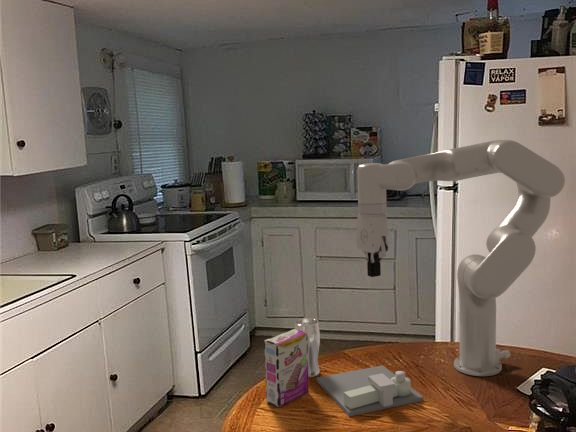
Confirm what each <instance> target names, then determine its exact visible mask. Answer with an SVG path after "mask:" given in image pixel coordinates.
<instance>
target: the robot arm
mask: <svg viewBox="0 0 576 432" xmlns="http://www.w3.org/2000/svg"><path fill="white" fill-rule="evenodd" d="M356 173H357V174H356V175H357V202H358V203H357V204H358V206H357V207H358V208H357V210H358V214H357V219H356V231H355V232H356V234H355V236H356V239H355V241H356V243H355V244H356V248H357V249H358V250H360V251H361V252H362V253H363V254H364V255H365V260H366V263H367V264H366V265H367V267H366V268H367V276H368V277H370V278H375V277H380V276H381V272H382V271H381V269H382V268H381V262H382V259H383V258H387V252H388V251H389V249H390V233H389V223H388V217H387V215H388V212H387V209H388V208H387V190H389V191H390V190H391V191H407V190H409V189H411V188H412V187H413V186H414V185H415V184H420V183H425V182H426V183H427V182H438V181H442V182H457V181H462V180H468V179H472V178H476V177H477V178H478V177H482V176H483V177H484V176H487V175H493V174H498V173H499V174H503V175H505V176H506V177H508V178H509V179H511V180H512V181H514V182H515V183H516V185H517V191H518V192H517V200H516V203H515V204H514V206H513V207H512V208H511V210H510V211H509V212H508V213H507V215H506V216H505V217H504V218H503V219H502V220H501V221H500V222H499V223H498V225H497V226H496V227H495V228H494V229H493V230H492V231H491V232H490V233H489V235H488V237H487V238H486V243H485V244H486V249H487V251H488V252H489V253H488V254H487V255H486V256H485V255H481V254H470V255H467V256H465V257H464V258H463V259H462V260H461V261H460V263H459V265H458V268H457V274H456V275H457V277H456V278H457V287H458V297H459V299H458V300H459V319H458V320H459V323H458V324H459V330H458V331H459V356H458V357H456V358H455V359H454V360H453V367H454V368H455V369H456V371H458V372H460V373H463V374H464V375H469V376H475V377H489V376H490V377H491V376H495V375H497V374H500V373H501V371H502V369H503V367H502V363H501V362H500V361H501V360H502V359H507V358H510V357H511V352H510V350H508V349H507V350H500V349H499V348H497V300H496V299H497V298H498V297H500V296H502V295H503V294H504V293H505V292H506V291H507V290H508V289H509V288H510V287H511V286H512V285H513V283H515V282H516V280H517V279H519V277H520V276H521V275H522V274H523V273H524V271H526V270H527V268H528V267H529V266H530V264H531V263H532V262H533V260H534V258H535V255H536V252H537V249H536V248H537V247H536V241H534V239H533V237H534V236H535V234H536V233H537V232H538V231H539V229H540V228H541V227H543V224H544V223H545V222H546V220H547V218H548V216H549V213H550V208H551V198H553V197H556V196H558V195H559V194H560V193H561V192H562V191H563V189H564V187H565V185H566V184H565V181H566V179H565V178H566V177H565V174H564V173H563V171H562V170H561V169H560V167H559V166H557V165H556V164H554V163H552V162H551V161H549V160H547V159H546V158H544V157H543V156H541V155H539V154H538V153H536V152H534V151H533V150H532V149H530V148H528V147H526V146H525V145H523V144H521V142H520V143H519V142H518V141H515V140H512V139H497V140H496V139H495V140H491V141H485V142H480V143H475V144H471V145H464V146H461V147H455V148H450V149H446V150H441V151H437V152H433V153H427V154H421V155H416V156H412V157H406V158H402V159H401V158H400V159H397V160H392V161H391V162H389V163H386V164H383V163H379V162H371V163H362V164H359V165H358V166H357V170H356Z"/></svg>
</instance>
